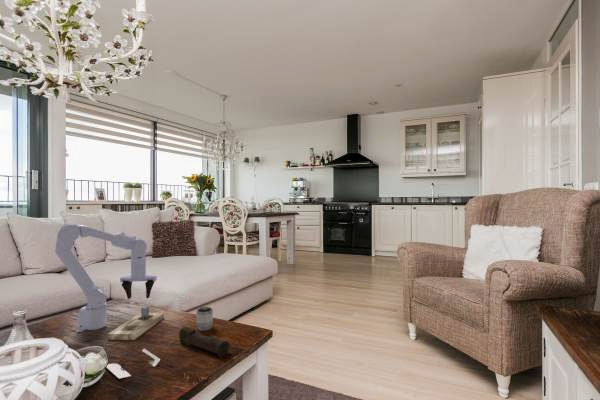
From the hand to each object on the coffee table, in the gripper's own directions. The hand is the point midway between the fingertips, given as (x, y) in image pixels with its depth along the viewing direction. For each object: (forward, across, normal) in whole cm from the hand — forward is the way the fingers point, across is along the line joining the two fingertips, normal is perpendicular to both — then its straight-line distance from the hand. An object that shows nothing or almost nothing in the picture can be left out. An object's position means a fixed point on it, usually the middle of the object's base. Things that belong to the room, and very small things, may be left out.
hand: (138, 297), depth 140 cm
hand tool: (+10, +32, -32) cm, 46 cm away
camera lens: (+10, +30, -13) cm, 34 cm away
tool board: (+9, +4, -12) cm, 16 cm away
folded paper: (+10, +13, -41) cm, 44 cm away
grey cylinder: (+8, +5, -6) cm, 12 cm away
